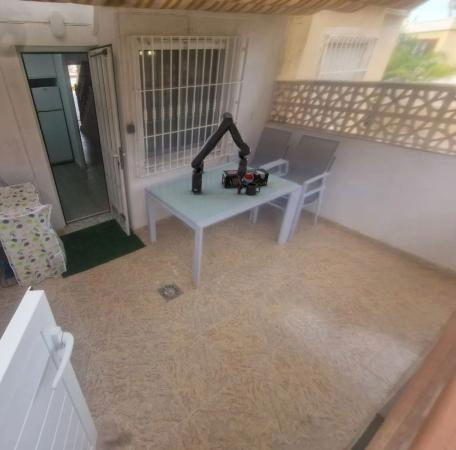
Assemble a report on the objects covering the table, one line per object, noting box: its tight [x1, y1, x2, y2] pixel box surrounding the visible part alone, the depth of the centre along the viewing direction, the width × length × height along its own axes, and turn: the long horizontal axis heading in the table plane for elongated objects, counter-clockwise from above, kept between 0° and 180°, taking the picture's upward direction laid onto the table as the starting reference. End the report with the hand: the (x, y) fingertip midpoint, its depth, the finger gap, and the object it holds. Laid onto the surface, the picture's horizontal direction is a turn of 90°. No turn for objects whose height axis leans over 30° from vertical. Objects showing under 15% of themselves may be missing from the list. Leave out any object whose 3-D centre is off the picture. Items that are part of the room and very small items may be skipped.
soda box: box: [221, 168, 270, 189], centre depth 237 cm, size 40×14×13 cm, turn 91°
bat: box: [237, 183, 242, 195], centre depth 222 cm, size 3×3×10 cm
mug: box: [244, 183, 262, 196], centre depth 220 cm, size 12×9×8 cm
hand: (240, 187), depth 221 cm, fingers open, 8 cm apart
